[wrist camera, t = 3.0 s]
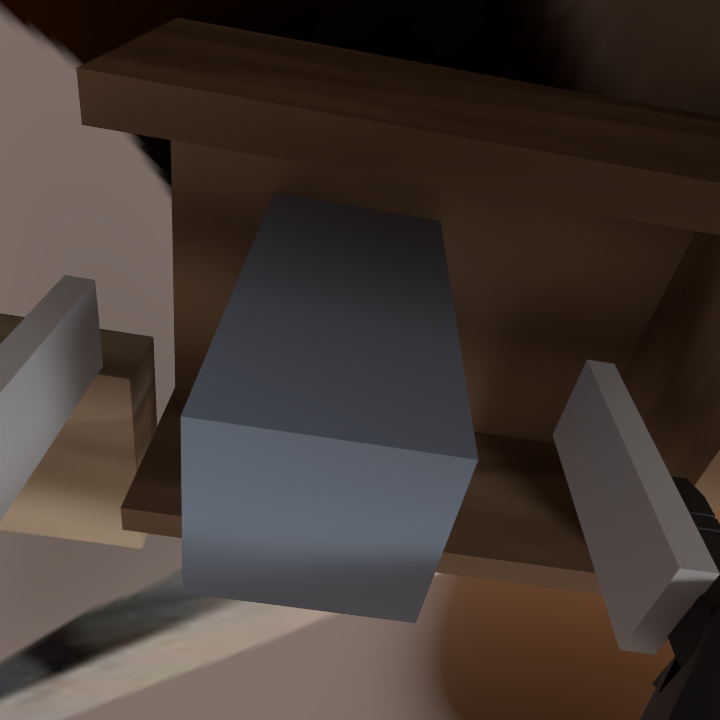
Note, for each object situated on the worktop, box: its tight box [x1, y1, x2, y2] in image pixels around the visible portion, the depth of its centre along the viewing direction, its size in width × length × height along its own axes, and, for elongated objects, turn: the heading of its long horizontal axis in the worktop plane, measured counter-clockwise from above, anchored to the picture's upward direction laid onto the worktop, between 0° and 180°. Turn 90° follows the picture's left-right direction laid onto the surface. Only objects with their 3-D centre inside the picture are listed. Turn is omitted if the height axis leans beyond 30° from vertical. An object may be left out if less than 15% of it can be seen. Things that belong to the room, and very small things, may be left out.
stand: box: [0, 314, 157, 549], centre depth 24 cm, size 9×9×2 cm
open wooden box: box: [77, 18, 720, 595], centre depth 18 cm, size 13×16×6 cm
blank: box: [181, 192, 478, 623], centre depth 16 cm, size 5×5×10 cm
